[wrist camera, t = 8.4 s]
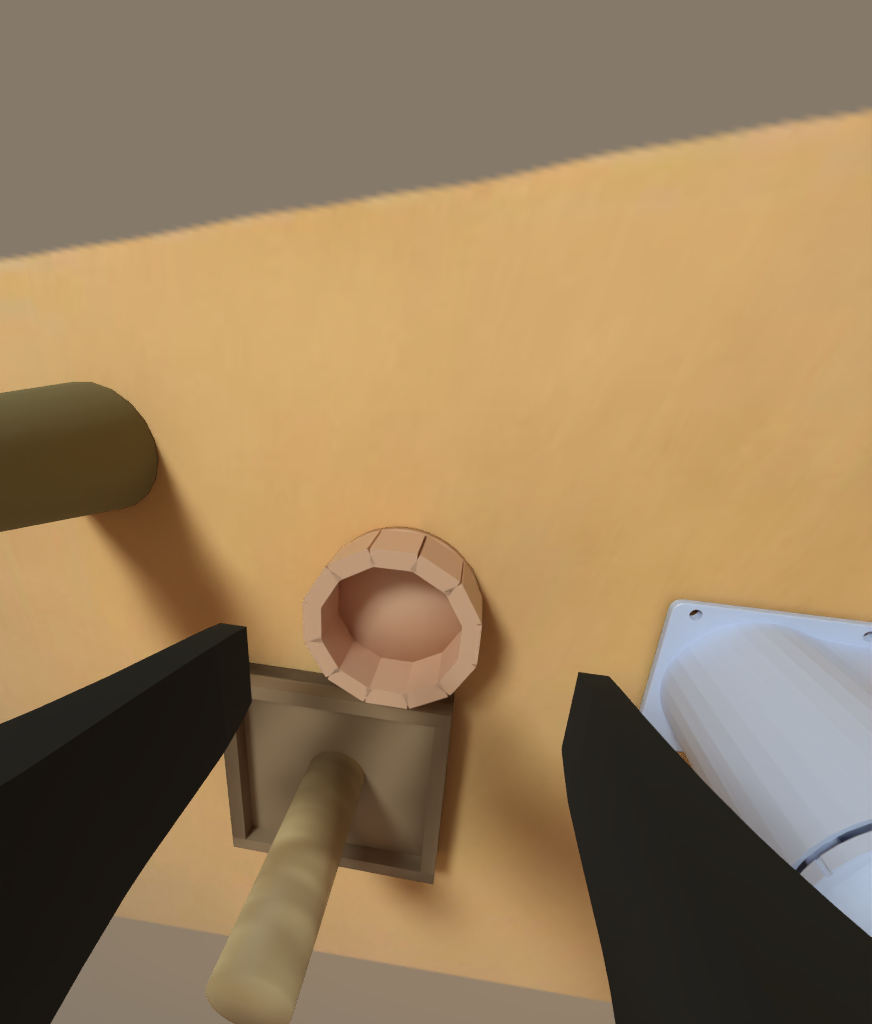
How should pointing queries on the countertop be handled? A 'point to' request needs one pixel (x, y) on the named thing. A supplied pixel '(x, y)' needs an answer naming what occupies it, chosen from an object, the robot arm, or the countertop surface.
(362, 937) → the countertop surface
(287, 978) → the dowel pin
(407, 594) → the pink round piece
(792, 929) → the robot arm
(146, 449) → the olive green pawn
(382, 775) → the walnut tray
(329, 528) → the countertop surface
